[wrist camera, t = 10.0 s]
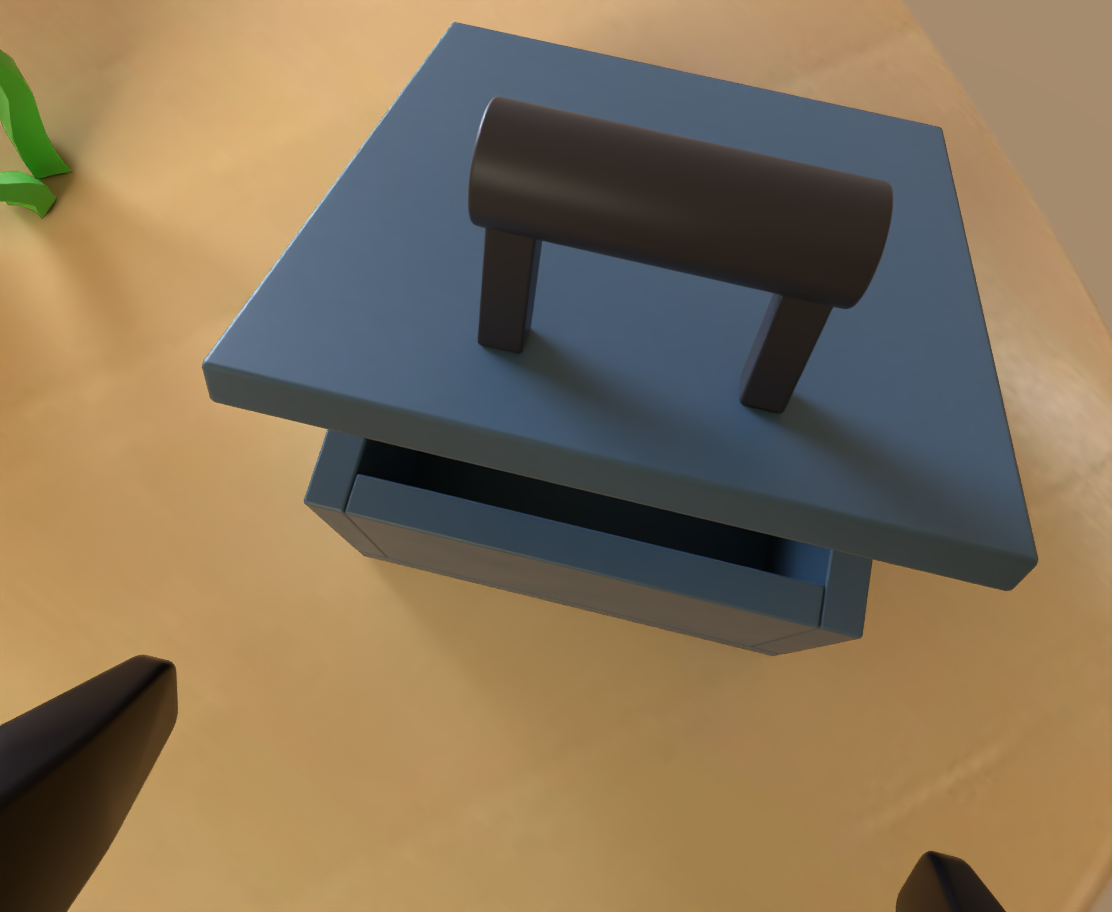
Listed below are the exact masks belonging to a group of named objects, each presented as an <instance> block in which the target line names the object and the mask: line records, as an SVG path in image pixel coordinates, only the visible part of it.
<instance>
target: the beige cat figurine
mask: <svg viewBox="0 0 1112 912" xmlns="http://www.w3.org/2000/svg"><path fill="white" fill-rule="evenodd" d="M0 121H1V123H2V125H3V127H4V129H5V131H6V133H7V135H8V137H9V139H10V140H11V142H12V144H13V145H14V147H15V148H16V150H17V152H18V153H19V155H20V156H21V158H22V159H23V161H24V162H25V164H26V165H27V167H28V168H29V170H30V171H31V172H32V174H33V175H34V177H35V178H34V177H32V176H29V175H27V174H24V173H21V172H18V171H12V172H1V173H0V201H5V202H6V203H7V204H8V205H15V206H21V207H26V208H28V209H31V210H33V211H34V212H36V213H37V214H38V215H39V216H40V217H41V218H43V217H44V216H45V214H46V213H47V212H48V210H49V209H50V207H51V206H52V204H53V203H54V201H55V200H56V197H55V196H54V194H53V193H52V192H51V191H50V189H49V188H48V187H47V186H46V185H45V184H44V183H42V182H41V181H39V180H38V179H41V178H44V177H47V176H51V175H56V174H61V173H68V172H72V171H71V170H70V168H69V167H68V166H67V165H66V163H65V162H64V161H63V160H62V159H61V157H60V156H59V155H58V154H57V152H56V151H55V149H54V148H53V146H52V144H51V142H50V140H49V138H48V137H47V135H46V132H45V130H44V127H43V124H42V121H41V118H40V115H39V112H38V109H37V105H36V102H35V98H34V96H33V93H32V91H31V89H30V88H29V86H28V84H27V83H26V81H25V79H24V78H23V76H22V74H21V72H20V71H19V69H18V67H17V65H16V63H15V62H14V60H13V59H12V58H11V57H10V56H9V55H7V54H6V53H4V52H3V51H2V50H0Z"/></svg>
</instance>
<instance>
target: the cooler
mask: <svg viewBox="0 0 1112 912" xmlns="http://www.w3.org/2000/svg"><path fill="white" fill-rule="evenodd" d="M304 503H305V504H306V505H307V506H308V507H309V508H310V509H311V510H312V511H314V512H315V513H316V514H317V515H318V516H319V517H320V518H321V519H323V520H324V521H325V522H326V523H327V524H328V525H329V526H331V527H332V528H333V529H334V530H335V531H336V532H337V533H338V534H340V535H341V536H342V537H343V538H344V539H345V540H346V541H347V542H349V543H350V544H351V545H352V546H353V547H354V548H355V549H357V550H358V551H359V552H360V553H361V554H363V555H364V556H367V557H371V558H375V559H379V560H383V561H387V562H391V563H395V564H399V565H404V566H408V567H412V568H416V569H420V570H424V571H428V572H432V573H436V574H440V575H444V576H448V577H453V578H457V579H461V580H465V581H469V582H473V583H477V584H481V585H485V586H489V587H493V588H497V589H502V590H506V591H510V592H514V593H518V594H522V595H526V596H530V597H534V598H538V599H542V600H546V601H551V602H555V603H559V604H563V605H567V606H571V607H575V608H579V609H583V610H587V611H591V612H595V613H600V614H604V615H608V616H612V617H616V618H620V619H624V620H628V621H632V622H636V623H640V624H644V625H649V626H653V627H657V628H661V629H665V630H669V631H673V632H677V633H681V634H685V635H689V636H693V637H698V638H702V639H706V640H710V641H714V642H718V643H722V644H726V645H730V646H734V647H738V648H742V649H747V650H751V651H755V652H759V653H763V654H767V655H771V656H776V655H781V654H787V653H792V652H796V651H801V650H806V649H811V648H816V647H821V646H826V645H831V644H836V643H840V642H845V641H850V640H855V639H860V638H861V637H862V635H863V628H864V620H865V612H866V605H867V597H868V589H869V582H870V574H871V567H872V559H869V558H865V557H861V556H857V555H853V554H849V553H844V552H840V551H836V550H832V549H828V548H823V547H819V546H815V545H811V544H807V543H802V542H798V541H794V540H790V539H786V538H782V537H777V536H773V535H769V534H765V533H761V532H756V531H752V530H748V529H744V528H740V527H736V526H731V525H727V524H723V523H719V522H715V521H710V520H706V519H702V518H698V517H694V516H689V515H685V514H681V513H677V512H673V511H669V510H664V509H660V508H656V507H652V506H648V505H643V504H639V503H635V502H631V501H627V500H622V499H618V498H614V497H610V496H606V495H602V494H597V493H593V492H589V491H585V490H581V489H576V488H572V487H568V486H564V485H560V484H556V483H551V482H547V481H543V480H539V479H535V478H530V477H526V476H522V475H518V474H514V473H509V472H505V471H501V470H497V469H493V468H489V467H484V466H480V465H476V464H472V463H468V462H463V461H459V460H455V459H451V458H447V457H442V456H438V455H434V454H430V453H426V452H422V451H417V450H413V449H409V448H405V447H401V446H396V445H392V444H388V443H384V442H380V441H375V440H371V439H367V438H363V437H359V436H355V435H350V434H346V433H342V432H338V431H334V430H329V429H328V430H327V433H326V436H325V439H324V442H323V445H322V448H321V451H320V454H319V457H318V460H317V463H316V465H315V468H314V471H313V474H312V477H311V480H310V483H309V486H308V489H307V492H306V495H305V498H304Z"/></svg>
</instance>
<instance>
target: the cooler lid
mask: <svg viewBox="0 0 1112 912" xmlns="http://www.w3.org/2000/svg"><path fill="white" fill-rule="evenodd" d="M202 369H203V372H204V376H205V380H206V384H207V388H208V391H209V395H210V398H211V400H213V401H214V402H216V403H221V404H225V405H229V406H233V407H237V408H242V409H246V410H250V411H254V412H258V413H262V414H267V415H271V416H275V417H279V418H283V419H288V420H292V421H296V422H300V423H304V424H309V425H313V426H317V427H321V428H325V429H329V430H334V431H338V432H342V433H346V434H350V435H355V436H359V437H363V438H367V439H371V440H375V441H380V442H384V443H388V444H392V445H396V446H401V447H405V448H409V449H413V450H417V451H422V452H426V453H430V454H434V455H438V456H442V457H447V458H451V459H455V460H459V461H463V462H468V463H472V464H476V465H480V466H484V467H489V468H493V469H497V470H501V471H505V472H509V473H514V474H518V475H522V476H526V477H530V478H535V479H539V480H543V481H547V482H551V483H556V484H560V485H564V486H568V487H572V488H576V489H581V490H585V491H589V492H593V493H597V494H602V495H606V496H610V497H614V498H618V499H622V500H627V501H631V502H635V503H639V504H643V505H648V506H652V507H656V508H660V509H664V510H669V511H673V512H677V513H681V514H685V515H689V516H694V517H698V518H702V519H706V520H710V521H715V522H719V523H723V524H727V525H731V526H736V527H740V528H744V529H748V530H752V531H756V532H761V533H765V534H769V535H773V536H777V537H782V538H786V539H790V540H794V541H798V542H802V543H807V544H811V545H815V546H819V547H823V548H828V549H832V550H836V551H840V552H844V553H849V554H853V555H857V556H861V557H865V558H869V559H874V560H878V561H882V562H886V563H890V564H895V565H899V566H903V567H907V568H911V569H916V570H920V571H924V572H928V573H932V574H936V575H941V576H945V577H949V578H953V579H957V580H962V581H966V582H970V583H974V584H978V585H982V586H987V587H991V588H995V589H999V590H1003V591H1010V590H1012V589H1013V588H1014V587H1015V586H1016V585H1017V584H1018V583H1019V582H1020V581H1021V580H1022V579H1023V578H1024V577H1025V576H1026V575H1027V574H1028V573H1029V572H1030V571H1031V570H1032V569H1033V568H1034V567H1035V566H1036V565H1037V562H1038V555H1037V551H1036V546H1035V542H1034V537H1033V533H1032V528H1031V524H1030V520H1029V515H1028V511H1027V506H1026V502H1025V497H1024V493H1023V488H1022V484H1021V479H1020V475H1019V470H1018V466H1017V461H1016V457H1015V453H1014V448H1013V444H1012V439H1011V435H1010V430H1009V426H1008V421H1007V417H1006V412H1005V408H1004V403H1003V399H1002V394H1001V390H1000V386H999V381H998V377H997V372H996V368H995V363H994V359H993V354H992V350H991V345H990V341H989V336H988V332H987V328H986V323H985V319H984V314H983V310H982V305H981V301H980V296H979V292H978V287H977V283H976V278H975V274H974V269H973V265H972V261H971V256H970V252H969V247H968V243H967V238H966V234H965V229H964V225H963V220H962V216H961V211H960V207H959V202H958V198H957V194H956V189H955V185H954V180H953V176H952V171H951V167H950V162H949V158H948V153H947V149H946V144H945V140H944V135H943V131H942V128H940V127H937V126H932V125H928V124H923V123H918V122H914V121H909V120H905V119H900V118H895V117H891V116H886V115H882V114H877V113H872V112H868V111H863V110H858V109H854V108H849V107H845V106H840V105H835V104H831V103H826V102H822V101H817V100H812V99H808V98H803V97H798V96H794V95H789V94H785V93H780V92H775V91H771V90H766V89H761V88H757V87H752V86H748V85H743V84H738V83H734V82H729V81H725V80H720V79H715V78H711V77H706V76H701V75H697V74H692V73H688V72H683V71H678V70H674V69H669V68H665V67H660V66H655V65H651V64H646V63H641V62H637V61H632V60H628V59H623V58H618V57H614V56H609V55H605V54H600V53H595V52H591V51H586V50H581V49H577V48H572V47H568V46H563V45H558V44H554V43H549V42H545V41H540V40H535V39H531V38H526V37H521V36H517V35H512V34H508V33H503V32H498V31H494V30H489V29H485V28H480V27H475V26H471V25H466V24H461V23H457V22H454V23H452V24H451V26H450V27H449V28H448V30H447V31H446V32H445V34H444V35H443V36H442V38H441V39H440V41H439V42H438V43H437V45H436V46H435V47H434V49H433V50H432V51H431V53H430V54H429V55H428V57H427V58H426V60H425V61H424V62H423V64H422V65H421V66H420V68H419V69H418V70H417V72H416V73H415V74H414V76H413V77H412V79H411V80H410V81H409V83H408V84H407V85H406V87H405V88H404V89H403V91H402V92H401V93H400V95H399V96H398V98H397V99H396V100H395V102H394V103H393V104H392V106H391V107H390V108H389V110H388V111H387V112H386V114H385V115H384V117H383V118H382V119H381V121H380V122H379V123H378V125H377V126H376V127H375V129H374V130H373V131H372V133H371V134H370V136H369V137H368V138H367V140H366V141H365V142H364V144H363V145H362V146H361V148H360V149H359V150H358V152H357V153H356V155H355V156H354V157H353V159H352V160H351V161H350V163H349V164H348V165H347V167H346V168H345V169H344V171H343V172H342V174H341V175H340V176H339V178H338V179H337V180H336V182H335V183H334V184H333V186H332V187H331V188H330V190H329V191H328V193H327V194H326V195H325V197H324V198H323V199H322V201H321V202H320V203H319V205H318V206H317V207H316V209H315V210H314V212H313V213H312V214H311V216H310V217H309V218H308V220H307V221H306V222H305V224H304V225H303V226H302V228H301V229H300V231H299V232H298V233H297V235H296V236H295V237H294V239H293V240H292V241H291V243H290V244H289V245H288V247H287V248H286V250H285V251H284V252H283V254H282V255H281V256H280V258H279V259H278V260H277V262H276V263H275V264H274V266H273V267H272V269H271V270H270V271H269V273H268V274H267V275H266V277H265V278H264V279H263V281H262V282H261V283H260V285H259V286H258V288H257V289H256V290H255V292H254V293H253V294H252V296H251V297H250V298H249V300H248V301H247V302H246V304H245V305H244V307H243V308H242V309H241V311H240V312H239V313H238V315H237V316H236V317H235V319H234V320H233V321H232V323H231V324H230V326H229V327H228V328H227V330H226V331H225V332H224V334H223V335H222V336H221V338H220V339H219V340H218V342H217V343H216V345H215V346H214V347H213V349H212V350H211V351H210V353H209V354H208V355H207V357H206V358H205V359H204V361H203V364H202Z"/></svg>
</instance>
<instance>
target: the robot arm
mask: <svg viewBox="0 0 1112 912" xmlns="http://www.w3.org/2000/svg"><path fill="white" fill-rule="evenodd" d="M177 714H178V698H177V675H176V667H175V665H174V664H173V663H172V662H170V661H169V660H165V659H161V658H157V657H153V656H149V655H138V656H135V657H132V658H130V659H128V660H126V661H125V662H123V663H121V664H119V665H117V666H115V667H113V668H111V669H109V670H107V671H105V672H103V673H101V674H99V675H97V676H95V677H94V678H92V679H90V680H88V681H86V682H84V683H82V684H80V685H78V686H76V687H74V688H72V689H70V690H68V691H66V692H64V693H63V694H61V695H59V696H57V697H55V698H53V699H51V700H49V701H47V702H45V703H43V704H41V705H39V706H37V707H35V708H33V709H32V710H30V711H28V712H26V713H24V714H22V715H20V716H18V717H16V718H14V719H12V720H10V721H8V722H6V723H4V724H2V725H1V726H0V912H67V911H68V909H69V908H70V906H71V905H72V903H73V902H74V900H75V899H76V897H77V896H78V894H79V893H80V891H81V890H82V889H83V887H84V886H85V884H86V883H87V881H88V880H89V878H90V877H91V875H92V874H93V872H94V871H95V869H96V868H97V866H98V865H99V863H100V861H101V860H102V858H103V857H104V855H105V854H106V852H107V851H108V849H109V847H110V845H111V844H112V842H113V840H114V838H115V837H116V835H117V833H118V831H119V829H120V828H121V826H122V824H123V822H124V820H125V818H126V816H127V815H128V813H129V811H130V809H131V807H132V805H133V803H134V801H135V800H136V798H137V796H138V794H139V792H140V790H141V788H142V787H143V785H144V783H145V781H146V779H147V777H148V775H149V773H150V772H151V770H152V768H153V766H154V764H155V762H156V760H157V759H158V757H159V755H160V753H161V751H162V749H163V747H164V745H165V744H166V742H167V740H168V738H169V736H170V734H171V732H172V730H173V728H174V725H175V723H176V719H177ZM895 912H1006V911H1005V910H1004V909H1003V907H1002V906H1001V905H1000V903H999V902H998V901H997V900H996V898H995V897H994V896H993V895H992V893H991V892H990V891H989V889H988V888H987V887H986V886H985V884H984V883H983V882H982V881H981V879H980V878H979V877H978V876H977V874H976V873H975V872H974V870H973V869H972V868H971V867H970V866H969V865H968V864H967V863H966V862H965V861H964V860H962V859H960V858H958V857H954V856H950V855H946V854H942V853H938V852H934V851H928V852H926V853H924V854H923V855H922V856H921V857H920V859H919V860H918V862H917V864H916V865H915V867H914V869H913V870H912V872H911V874H910V875H909V877H908V879H907V880H906V882H905V884H904V885H903V887H902V889H901V890H900V892H899V894H898V898H897V902H896V911H895Z"/></svg>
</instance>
